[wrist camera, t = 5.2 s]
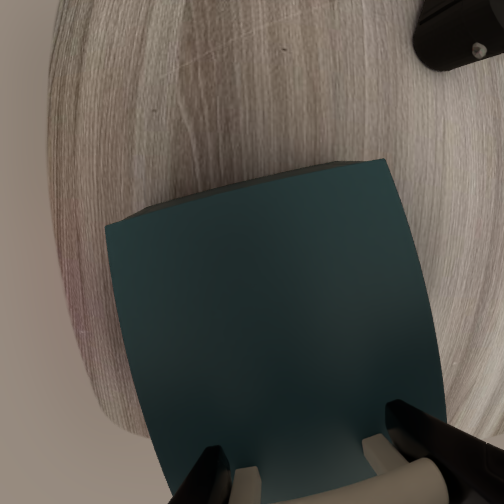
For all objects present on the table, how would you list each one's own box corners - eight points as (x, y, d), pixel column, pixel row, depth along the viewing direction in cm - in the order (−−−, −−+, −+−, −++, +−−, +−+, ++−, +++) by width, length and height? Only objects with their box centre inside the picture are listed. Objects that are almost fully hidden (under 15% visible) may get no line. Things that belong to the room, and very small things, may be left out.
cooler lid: (442, 462, 8) (515, 521, 3) (192, 525, 8) (156, 612, 4) (379, 164, 10) (440, 77, 5) (111, 229, 10) (19, 178, 6)
